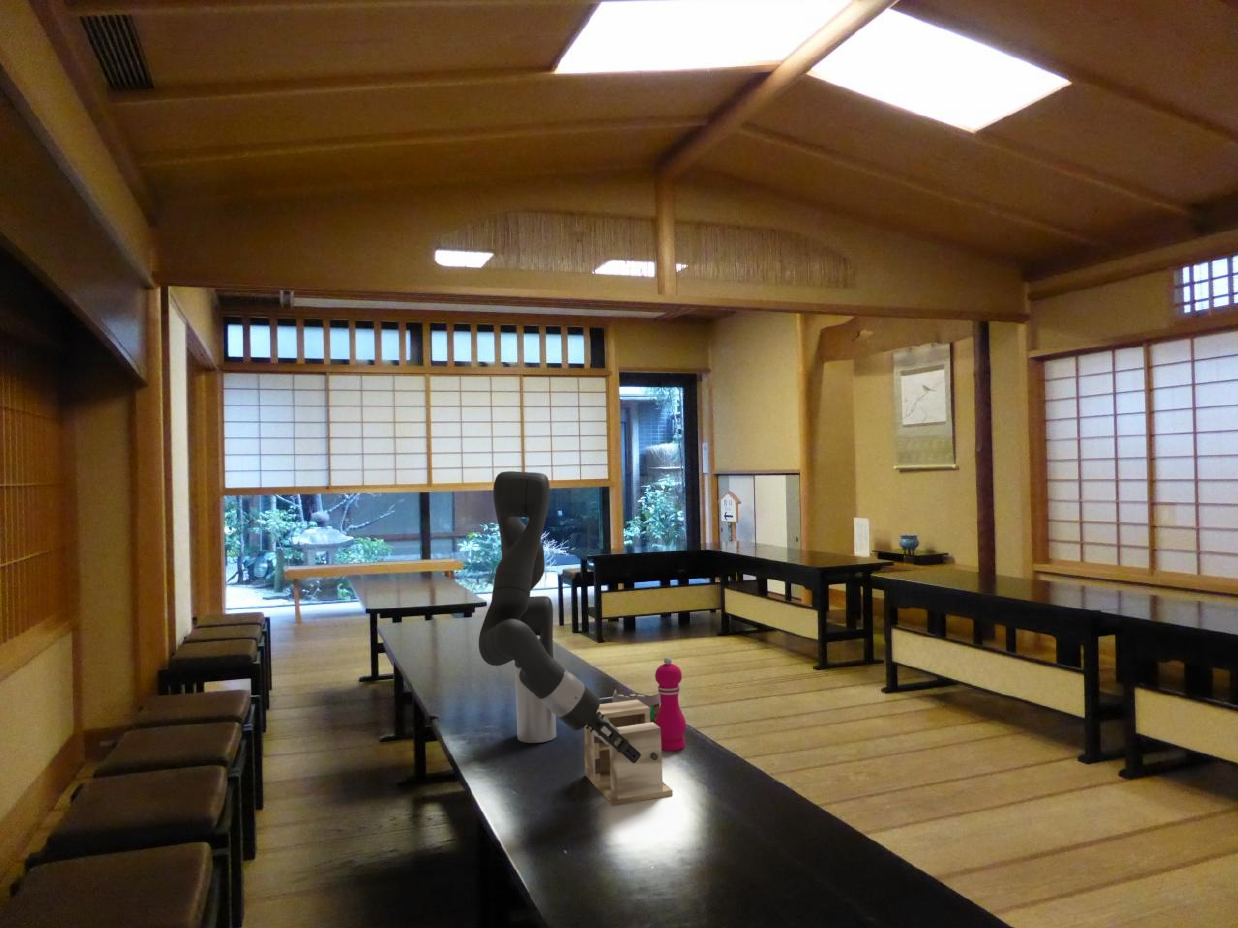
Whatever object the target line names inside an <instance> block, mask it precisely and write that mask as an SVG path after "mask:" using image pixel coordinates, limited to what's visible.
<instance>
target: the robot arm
mask: <svg viewBox="0 0 1238 928" xmlns="http://www.w3.org/2000/svg"><path fill="white" fill-rule="evenodd" d="M550 487H551V486H550V480H549V478H548V476H547V475H546V474H544V473H541V472H530V471H514V470H513V471H512V470H510V471H502V472H500V473H498V474H497V475H496V477H495V480H494V482H493V497H492V498H493V504H494V510H495V515H496V520H497V525H498V529H499V534H500V535H499V536H500V549H501V550H500V551H501V559H500V561H499V563H498V565H497V566H496V569H495V573H494V581H493V588H492V595H491V601H490V604H489V607H488V608H487V611H486V613H485V617H484V620H483V622H482V625H481V628H480V631H479V636H478V650H479V654H480V656H481V658H482V660H483V661H484V662H485V663H486V664H487V665H490V666H493V667H499V666H503V665H506V664H508V663H511V662H512V661H514V677H515V678H514V679H515V704H516V705H515V707H516V709H515V710H516V734H517V739H516V740H518V741H519V742H521V743H528V744H536V743H537V744H539V743H545V742H548V741H552V740H554V739H556V737H557V718H559V720H561V721H562V722H563V723H564V724H565V725H566V726H567V727H569V728H570V730H573V731H579V730H580V731H581V730H583V728H584V726H586V725H587V726H586V727H585V728H586V729H588V730H589V731H590V732H591V733H592V734H593V735H594V736H595V737H599V738H600V739H601V740H602V741H603V742H604V743H605V744H607V745H608V746H610V745H612V746H613V747H614V748H615V749H616V751H617V752H618V753H619V752H620V753H622V754H623V755H624V756H625V757H626V758H628V759H629V760H630V761H631V762H632V763H636V762H637V760H638V759H639V758H640V756H641V754H640V753H639V752H638V751H637V750H636V749H635V748H634V747H633V746H631V745H630V744H629V742H628V740H627V739H626V738H624V737H622V736H621V735H620V731H619V730H618V729H617V728H616V727H615V726H614V725H613V724H611V723H610V721H609V719H608V718H607V717H606V716H604V715H603V714H602V713H601V712H599V711H598V709H599V706H600V704H601V700H600V697H598V696H597V695H596V693H594V692H593V690H591V689H590V688H589V687H587V685H585V684H584V683H583V682H582V681H581V680H580V679H579V678H578V677H576V676H575V675H574V674H573V673H571V672H570V671H568V670H567V669H566V668H564V667H563V666H562V665H561V664H560V663H559V662H557V661H556V660H555V659H554V636H553V635H554V634H553V633H554V627H553V626H554V607H553V602H552V599H551V598H550V597H549V596H547V595H546V596H545V595H542V596H540V595H539V596H538V595H537V596H531V591H532V590H533V589H534V588H535V587H536V586H537V585H538V584H539V582H540V580H541V579H542V578H543V575H544V573H545V568H546V566H545V550H544V546H543V544H542V542H541V539H542V535H543V532H544V528H545V527H544V526H545V523H546V519H547V514H548V509H549V505H550V496H551V495H550V493H551V492H550V491H551V489H550ZM520 518H525V519H528V522H527V525H526V524H525V523H524V522H523V521H522V520H521V519H520ZM597 711H598V712H597ZM617 738H621V739H622V740H621V741H620V743H619V744H618V745H617V746H616V745H615V744H614V742H615V741H616V740H617Z"/></svg>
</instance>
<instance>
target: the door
mask: <svg viewBox="0 0 1238 928" xmlns="http://www.w3.org/2000/svg"><path fill="white" fill-rule="evenodd" d="M616 728H617V729H618V730H619V731H620V735H621V736H622V737H624V738H626V739H627V740H628V742H629V744H630V745H631V746H633V747H634V748H635V749H636V750H637V751H638V752H639V753H640V754H641V756H640V758H639V759H638V760H637V762H636V763H632V762H631V761H630V760H629V759H628V758H626V757H625V756H624V755H623V754H622V753H620V752H619V753H618V752H617V751H616V749H615V748H614V747H613V746H612V745H610V773H611V792H612V793H613V794H614V795H615V796H616V797H617V798H618V799H623V798H629V797H634V796H640V795H646V794H651V793H657V792H663V782H664V781H663V760H662V759H663V758H662V757H663V755H662V750H661V728H660V727H659V726H657V725H656V724H654V723H653V722H651V723H644V724H637V725H630V726H623V727H616ZM621 740H622V739H621V738H617V740H616V741H615V742H614V744H615V745H616V746H617V745H618V744H619V743H620V741H621Z"/></svg>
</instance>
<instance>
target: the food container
mask: <svg viewBox="0 0 1238 928" xmlns="http://www.w3.org/2000/svg"><path fill="white" fill-rule="evenodd" d="M613 692H614V693H613V695H612V702H611V703H614V702H622V701H629V700H639V701H640V702H642V703H643V704H645V705H646V706H648V707H649V708H650V723H651V722H653V723H654V724H655V720H656V717H657V714H658V712H659V709H660V704H661V698H660V693H656V694H653V695H647V694H643V693H638V692H637V693H618V692H617V689H615V690H614V691H613Z"/></svg>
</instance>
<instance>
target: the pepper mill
mask: <svg viewBox="0 0 1238 928" xmlns="http://www.w3.org/2000/svg"><path fill="white" fill-rule="evenodd" d="M672 662H673V660H672V658H671V657H670V656H667V657H665V658H664V659H663V663H664V664H663V663H662V664H661V665H659V666H658V667H657V668H656V670H655V673H654V675H655V676H654V678H655V681H656V682H657V684H658V686H657V689H658V691H657V692H658V693H660V698H661V703H660V709H659V712H658V714H657V717H656V720H655V724H656V725H657V726H659V727H660V728H661V751H665V752H667V751H668V752H669V751H670V752H672V751H673V752H674V751H680V750H682V749H684V748H685V747H686V739H685V738H686V737H684V734H685V733H686V731H687V722H686V721H687V720H686V719H685V715H684V714H683V712H682V710H681V707H680V704H679V703H680V702H679V694H680V693H681V689H680V688H681V685H680V682H681V681H682V678H683V674H682V671H681V669H680V667H679V666H678V665H676V664H673V663H672ZM658 693H657V694H658Z"/></svg>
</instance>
